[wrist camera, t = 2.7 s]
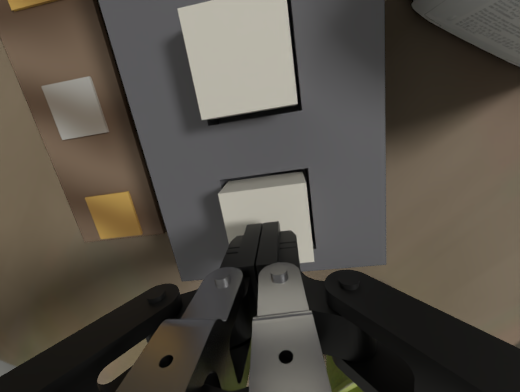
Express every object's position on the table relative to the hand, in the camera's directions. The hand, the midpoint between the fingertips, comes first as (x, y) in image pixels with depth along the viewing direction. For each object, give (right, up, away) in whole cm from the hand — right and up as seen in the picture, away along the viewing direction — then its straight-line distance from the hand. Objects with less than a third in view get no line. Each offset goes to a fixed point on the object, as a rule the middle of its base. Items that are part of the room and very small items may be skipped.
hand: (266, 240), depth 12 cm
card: (-13, +8, +6) cm, 16 cm away
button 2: (0, +1, +3) cm, 4 cm away
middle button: (-1, +9, +1) cm, 9 cm away
